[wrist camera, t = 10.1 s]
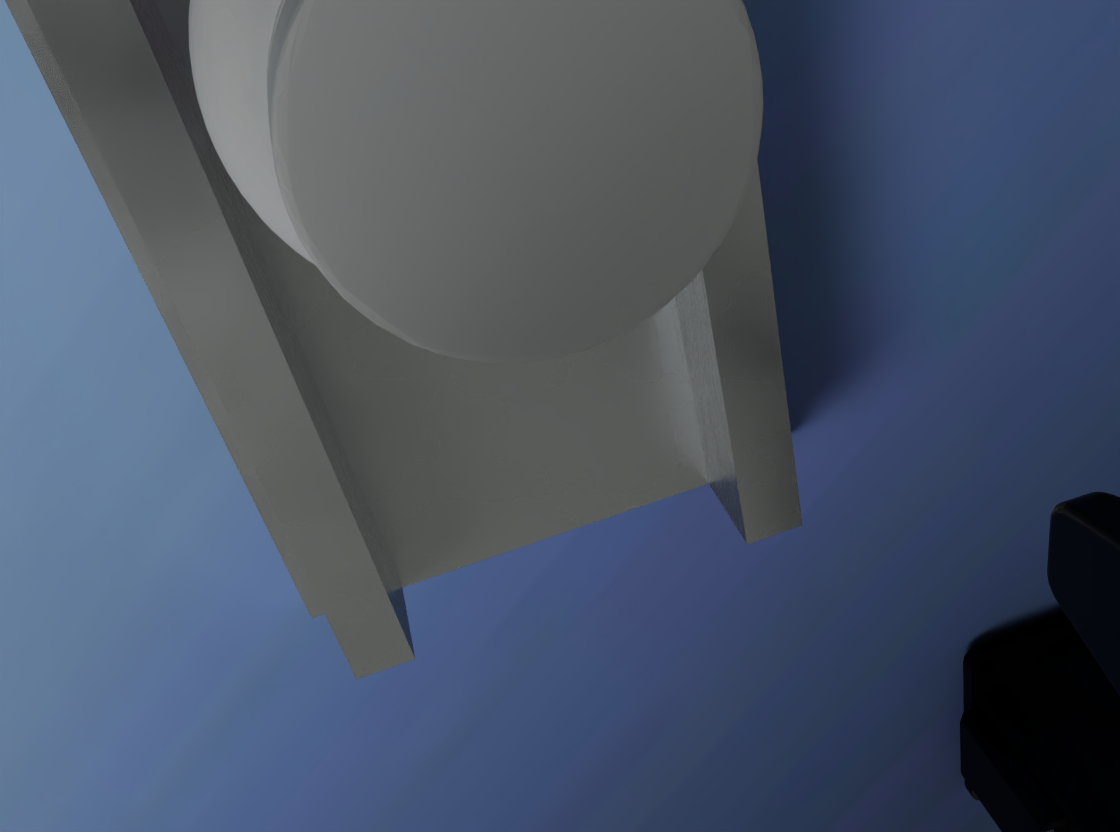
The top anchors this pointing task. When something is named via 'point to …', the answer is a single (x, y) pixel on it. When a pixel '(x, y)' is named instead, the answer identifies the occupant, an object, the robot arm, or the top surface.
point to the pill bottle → (488, 154)
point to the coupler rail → (405, 363)
